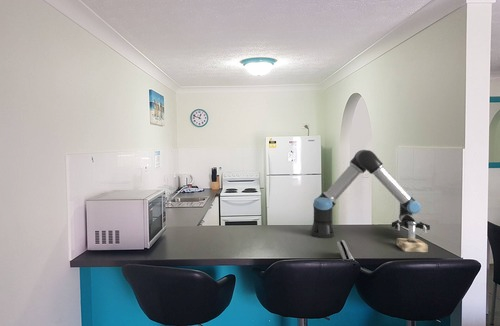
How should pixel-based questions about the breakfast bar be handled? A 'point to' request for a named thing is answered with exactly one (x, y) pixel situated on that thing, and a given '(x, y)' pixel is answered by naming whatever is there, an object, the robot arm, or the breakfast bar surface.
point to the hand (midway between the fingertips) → (412, 229)
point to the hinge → (344, 250)
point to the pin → (411, 231)
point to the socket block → (412, 245)
